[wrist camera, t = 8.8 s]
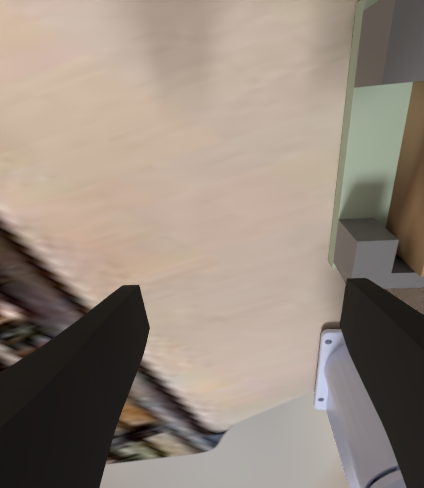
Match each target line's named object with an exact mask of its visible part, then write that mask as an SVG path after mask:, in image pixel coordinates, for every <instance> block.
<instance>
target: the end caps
mask: <svg viewBox="0 0 424 488" xmlns="http://www.w3.org/2000/svg"><path fill="white" fill-rule="evenodd" d="M416 81H424V0H379V1H377V2H376V3H374V4H373V5H371V6H370V7H368V8H367V9H366V10H364V11H363V16H362V25H361V33H360V42H359V50H358V58H357V67H356V75H355V84H354V88H357V87H367V86H377V85H386V84H396V83H406V82H416ZM398 242H399V239H397V238H396V237H395V236H394V235H393V234H392V233H390V232H389V231H388V230H387V229H386V228H385V227H384V226H382V225H381V224H380V223H379V222H378V221H377V220H375V219H374V218H357V219H339V220H338V227H337V235H336V243H335V252H334V260H333V263H334V264H335V266H336V268H337V269H338V271H339V273H340V274H341V276H342V278H343V279H344V281H345V283H346V280H347V278H367V279H369V280H371V281H372V282H374V283H375V284H377V285H379V286H380V287H382V288H383V289H397V288H424V277H420V276H419V275H418V274H417V273H416V272H415V271H414V270H413V269H412V268H411V267H410V266H409V265H408V264H407V263H406V262H405V261H403V260H402V259H401V258H400V257H399V256H398V255H397V254H396V251H397V246H398Z"/></svg>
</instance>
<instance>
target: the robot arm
mask: <svg viewBox="0 0 424 488" xmlns="http://www.w3.org/2000/svg"><path fill="white" fill-rule="evenodd" d="M340 327H341V329H326V330H324V331H323V332H322V333H321V341H320V350H319V359H318V368H317V377H316V385H315V394H314V407H315V408H316V409H318V410H326V411H327V414H328V417H329V421H330V424H331V428H332V431H333V434H334V438H335V442H336V445H337V448H338V452H339V455H340V459H341V462H342V466H343V469H344V472H345V476H346V479H347V482H348V484H349V487H350V488H424V315H423V314H421V313H420V312H418V311H416V310H415V309H413V308H412V307H410V306H409V305H407V304H406V303H404V302H403V301H401V300H400V299H398V298H397V297H395V296H394V295H392V294H391V293H389V292H388V291H386V290H385V289H383V288H382V287H380V286H379V285H377V284H375V283H374V282H372V281H371V280H369V279H367V278H347V280H346V287H345V294H344V300H343V307H342V314H341V321H340ZM149 329H150V327H149V323H148V319H147V315H146V311H145V307H144V303H143V299H142V295H141V291H140V287H139V285H123V286H121V287H120V288H119V289H117V290H116V291H115V292H113V293H112V294H111V295H109V296H108V297H107V298H106V299H104V300H103V301H102V302H101V303H99V304H98V305H97V306H96V307H94V308H93V309H92V310H90V311H89V312H88V313H87V314H85V315H84V316H83V317H82V318H80V319H79V320H78V321H76V322H75V323H74V324H72V325H71V326H70V327H68V328H67V329H65V330H64V331H63V332H61V333H60V334H59V335H57V336H56V337H54V338H53V339H52V340H50V341H49V342H48V343H46V344H45V345H43V346H42V347H40V348H39V349H37V350H36V351H34V352H33V353H31V354H29V355H28V356H26V357H25V358H23V359H22V360H20V361H18V362H17V363H15V364H14V365H12V366H10V367H9V368H7V369H5V370H3V371H2V372H0V488H99V487H100V483H101V479H102V476H103V471H104V468H105V464H106V460H107V457H108V453H109V450H110V446H111V443H112V439H113V436H114V432H115V429H116V426H117V423H118V420H119V417H120V415H121V412H122V409H123V407H124V404H125V402H126V399H127V396H128V394H129V391H130V389H131V386H132V383H133V381H134V378H135V376H136V373H137V370H138V368H139V365H140V362H141V360H142V357H143V354H144V350H145V346H146V342H147V338H148V334H149ZM326 340H328V341H326Z"/></svg>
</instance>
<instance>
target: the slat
mask: <svg viewBox="0 0 424 488" xmlns="http://www.w3.org/2000/svg"><path fill="white" fill-rule="evenodd" d="M386 229H387V230H388V231H389V232H390V233H392V234H393V235H394V236H395V237H396V238H397V239H399V242H398V246H397V251H396V254H397V255H398V256H399V257H400V258H401V259H402V260H403V261H405V262H406V263H407V264H408V265H409V266H410V267H411V268H412V269H413V270H414V271H415V272H416V273H417V274H418V275H419V276H420V277H424V81H416V82H413V86H412V91H411V96H410V101H409V107H408V112H407V117H406V123H405V128H404V133H403V138H402V144H401V149H400V154H399V160H398V165H397V170H396V175H395V181H394V186H393V191H392V197H391V202H390V207H389V213H388V218H387V223H386Z"/></svg>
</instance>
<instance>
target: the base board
mask: <svg viewBox="0 0 424 488" xmlns="http://www.w3.org/2000/svg"><path fill="white" fill-rule="evenodd" d="M377 1H379V0H360V1H359V2H358V3H356V10H355V19H354V28H353V38H352V47H351V56H350V65H349V74H348V83H347V93H346V102H345V111H344V120H343V129H342V138H341V147H340V157H339V166H338V175H337V184H336V193H335V202H334V212H333V221H332V230H331V239H330V248H329V257H328V262H329V264H330V265H331V267H332V269H337V268H336V266H335V264H334V263H333V260H334V252H335V243H336V235H337V227H338V220H339V219H357V218H374V219H375V220H377V221H378V222H379V223H380V224H381V225H382V226H384V227H385V228H386V223H387V218H388V213H389V207H390V202H391V197H392V191H393V186H394V181H395V175H396V170H397V165H398V160H399V154H400V149H401V144H402V138H403V133H404V128H405V123H406V117H407V112H408V107H409V101H410V96H411V91H412V86H413V82H406V83H396V84H386V85H377V86H367V87H357V88H354V84H355V75H356V67H357V58H358V50H359V42H360V33H361V25H362V16H363V11H364V10H366V9H367V8H368V7H370V6H371V5H373V4H374V3H376V2H377Z"/></svg>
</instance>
